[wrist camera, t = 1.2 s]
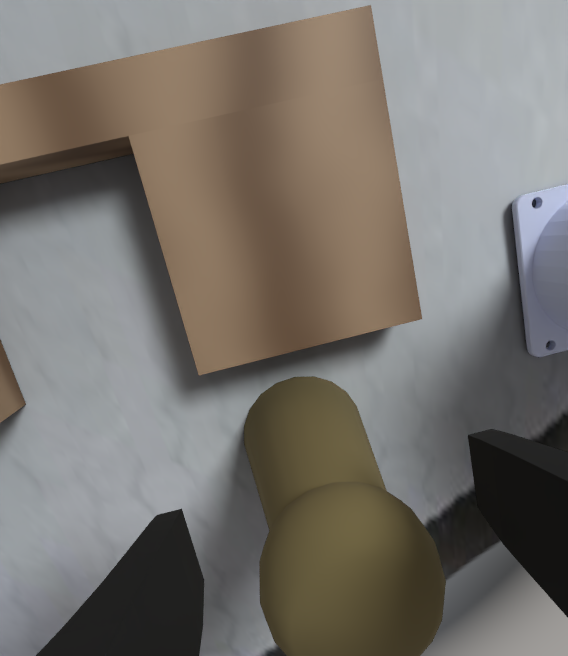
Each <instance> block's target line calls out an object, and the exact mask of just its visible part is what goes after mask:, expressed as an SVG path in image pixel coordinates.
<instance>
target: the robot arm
mask: <svg viewBox="0 0 568 656" xmlns="http://www.w3.org/2000/svg"><path fill="white" fill-rule="evenodd" d="M533 199H535V200H536V202H537V204H536V207H535V208H533V206H532V201H533ZM512 213H513V223H514V232H515V241H516V250H517V259H518V269H519V278H520V287H521V296H522V306H523V315H524V324H525V333H526V343H527V350H528V352H529V353H530V354H531V355H533V356H536V357H544V356H547V355H551V354H555V353H559V352H563V351H567V350H568V184H566V185H561V186H557V187H553V188H549V189H545V190H541V191H537V192H532V193H528V194H524V195H520V196H518V197H517V198H516V199H515V200H514V202H513V204H512ZM548 341H550V345H549V346H548V348H546V344H547V342H548ZM468 440H469V447H470V454H471V462H472V469H473V477H474V484H475V491H476V499H477V506H478V508H479V510H480V511H481V513H482V514H483V516H484V517H485V519H486V520H487V522H488V523H489V524H490V526H491V527H492V529H493V530H494V532H495V533H496V534H497V536H498V537H499V539H500V540H501V541H502V543H503V544H504V545H505V547H506V548H507V549H508V550H509V551H510V552H511V554H512V555H513V556H514V557H515V558H516V559H517V560H518V562H519V563H520V564H521V565H522V566H523V567H524V568H525V570H526V571H527V572H528V573H529V574H530V575H531V576H532V577H533V579H534V580H535V581H536V582H537V583H538V584H539V585H540V587H541V588H542V589H543V590H544V591H545V592H546V593H547V594H548V596H549V597H550V598H551V599H552V600H553V601H554V602H555V603H556V605H557V606H558V607H559V608H560V609H561V610H562V611H563V612H564V614H565V615H566V616H567V617H568V452H565V451H562V450H559V449H556V448H553V447H550V446H547V445H544V444H540V443H537V442H534V441H531V440H528V439H525V438H522V437H519V436H515V435H512V434H509V433H505V432H501V431H497V430H493V429H490V430H486V431H482V432H478V433H474V434H470V435H468ZM203 606H204V579H203V575H202V572H201V569H200V566H199V563H198V559H197V556H196V553H195V550H194V547H193V543H192V540H191V537H190V534H189V531H188V527H187V524H186V521H185V518H184V515H183V511H182V509H179V510H175V511H171V512H167V513H163V514H160V515H156V517H155V518H154V519H153V520H152V521H151V522H150V523H149V525H148V526H147V527H146V528H145V530H144V531H143V532H142V533H141V535H140V536H139V537H138V538H137V540H136V541H135V542H134V543H133V545H132V546H131V547H130V548H129V550H128V551H127V552H126V554H125V555H124V556H123V557H122V558H121V560H120V561H119V562H118V563H117V565H116V566H115V567H114V568H113V570H112V571H111V572H110V573H109V575H108V576H107V577H106V578H105V579H104V581H103V582H102V583H101V584H100V585H99V587H98V588H97V589H96V590H95V591H94V592H93V593H92V595H91V596H90V597H89V598H88V599H87V600H86V601H85V603H84V604H83V605H82V606H81V607H80V608H79V609H78V611H77V612H76V613H75V614H74V615H73V616H72V617H71V619H70V620H69V621H68V622H67V623H66V624H65V625H64V627H63V628H62V629H61V630H60V631H59V632H58V633H57V634H56V635H55V636H54V637H53V638H52V639H51V640H50V641H49V643H48V644H47V645H46V646H45V647H44V648H43V649H42V650H41V651H40V652H39V653H38V654H37V655H36V656H199V651H200V644H201V636H202V628H203Z"/></svg>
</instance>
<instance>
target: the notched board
mask: <svg viewBox="0 0 568 656" xmlns="http://www.w3.org/2000/svg"><path fill="white" fill-rule="evenodd" d="M130 154H134V156H135V160H136V163H137V167H138V170H139V173H140V177H141V180H142V184H143V187H144V190H145V194H146V197H147V201H148V204H149V207H150V211H151V214H152V218H153V221H154V224H155V228H156V231H157V235H158V238H159V242H160V245H161V248H162V252H163V255H164V259H165V262H166V265H167V269H168V272H169V276H170V279H171V282H172V286H173V289H174V293H175V296H176V299H177V303H178V306H179V310H180V313H181V317H182V320H183V323H184V327H185V330H186V334H187V337H188V340H189V344H190V347H191V351H192V354H193V357H194V361H195V364H196V368H197V371H198V375H203V374H207V373H211V372H215V371H218V370H222V369H226V368H230V367H234V366H238V365H242V364H246V363H250V362H254V361H258V360H262V359H266V358H270V357H274V356H278V355H282V354H286V353H290V352H293V351H297V350H301V349H305V348H309V347H313V346H317V345H321V344H325V343H329V342H333V341H337V340H341V339H345V338H349V337H353V336H357V335H361V334H365V333H369V332H372V331H376V330H380V329H384V328H388V327H392V326H396V325H400V324H404V323H408V322H412V321H416V320H420V319H422V315H421V309H420V303H419V297H418V291H417V285H416V278H415V272H414V266H413V260H412V254H411V248H410V242H409V236H408V229H407V223H406V217H405V211H404V205H403V199H402V193H401V187H400V181H399V174H398V168H397V162H396V156H395V150H394V144H393V138H392V132H391V125H390V119H389V113H388V107H387V101H386V95H385V89H384V83H383V77H382V70H381V64H380V58H379V52H378V46H377V40H376V34H375V28H374V21H373V15H372V9H371V5H369V6H365V7H360V8H355V9H351V10H346V11H341V12H337V13H332V14H327V15H323V16H318V17H313V18H309V19H304V20H299V21H295V22H290V23H285V24H281V25H276V26H271V27H267V28H262V29H257V30H253V31H248V32H243V33H239V34H234V35H229V36H225V37H220V38H215V39H211V40H206V41H201V42H197V43H192V44H187V45H183V46H178V47H173V48H169V49H164V50H159V51H155V52H150V53H145V54H141V55H136V56H131V57H127V58H122V59H117V60H113V61H108V62H103V63H99V64H94V65H89V66H85V67H80V68H75V69H71V70H66V71H61V72H57V73H52V74H47V75H43V76H38V77H33V78H29V79H24V80H19V81H15V82H10V83H5V84H1V85H0V184H1V183H6V182H10V181H15V180H19V179H23V178H28V177H32V176H37V175H41V174H46V173H50V172H54V171H59V170H63V169H68V168H72V167H77V166H81V165H85V164H90V163H94V162H99V161H103V160H108V159H112V158H116V157H121V156H125V155H130ZM25 404H26V403H25V401H24V398H23V396H22V393H21V391H20V388H19V386H18V383H17V381H16V378H15V376H14V373H13V370H12V368H11V365H10V363H9V360H8V358H7V355H6V353H5V350H4V348H3V345H2V343H1V340H0V423H1V422H2V421H3V420H5V419H6V418H8V417H9V416H10V415H12V414H13V413H14V412H16V411H17V410H19V409H20V408H21V407H23V406H24V405H25Z"/></svg>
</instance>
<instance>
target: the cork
mask: <svg viewBox="0 0 568 656" xmlns="http://www.w3.org/2000/svg"><path fill="white" fill-rule="evenodd" d="M244 445H245V448H246V452H247V455H248V459H249V462H250V465H251V469H252V472H253V476H254V479H255V483H256V486H257V489H258V493H259V496H260V500H261V503H262V507H263V510H264V513H265V517H266V520H267V524H268V527H269V534H268V537H267V539H266V542H265V545H264V548H263V551H262V555H261V558H260V604H261V607H262V610H263V613H264V615H265V618H266V621H267V624H268V626H269V629H270V631H271V634H272V636H273V639H274V641H275V643H276V644H277V645H278V646H279V647H280V648H281V649H282V651H283V652H284V653H285V654H286V655H287V656H420V655H421V654H422V653H423V652H424V651H425V649H426V648H427V647H428V646H429V645H430V644H431V642H432V641H433V639H434V636H435V635H436V632H437V630H438V628H439V625H440V623H441V621H442V615H443V605H444V594H445V584H446V580H445V577H444V573H443V569H442V566H441V562H440V558H439V555H438V551H437V548H436V545H435V542H434V540H433V539H432V537H431V536H430V534H429V533H428V531H427V530H426V528H425V527H424V525H423V524H422V523H421V521H420V520H419V519H418V517H417V516H416V515H415V513H414V512H413V511H412V509H411V508H410V507H408V506H407V505H406V504H404V503H403V502H402V501H401V500H399V499H398V498H396V497H395V496H393V495H392V494H390V493H389V492H387V491H386V488H385V485H384V482H383V480H382V477H381V474H380V471H379V468H378V465H377V463H376V460H375V457H374V454H373V451H372V448H371V446H370V443H369V440H368V437H367V434H366V431H365V428H364V426H363V423H362V420H361V417H360V414H359V411H358V409H357V406H356V405H355V403H354V402H353V400H352V399H351V398H350V396H349V395H348V393H347V392H346V391H344V390H343V389H341V388H340V387H339V386H337V385H336V384H334V383H333V382H331V381H327V380H324V379H321V378H317V377H293V378H290V379H287V380H284V381H281V382H278V383H276V384H275V385H273V386H272V387H270V388H269V389H268V390H266V391H265V392H263V393H262V394H261V395H260V396H259V398H258V399H257V400H256V402H255V403H254V404H253V406H252V407H251V408H250V410H249V413H248V416H247V419H246V422H245V425H244Z"/></svg>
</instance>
